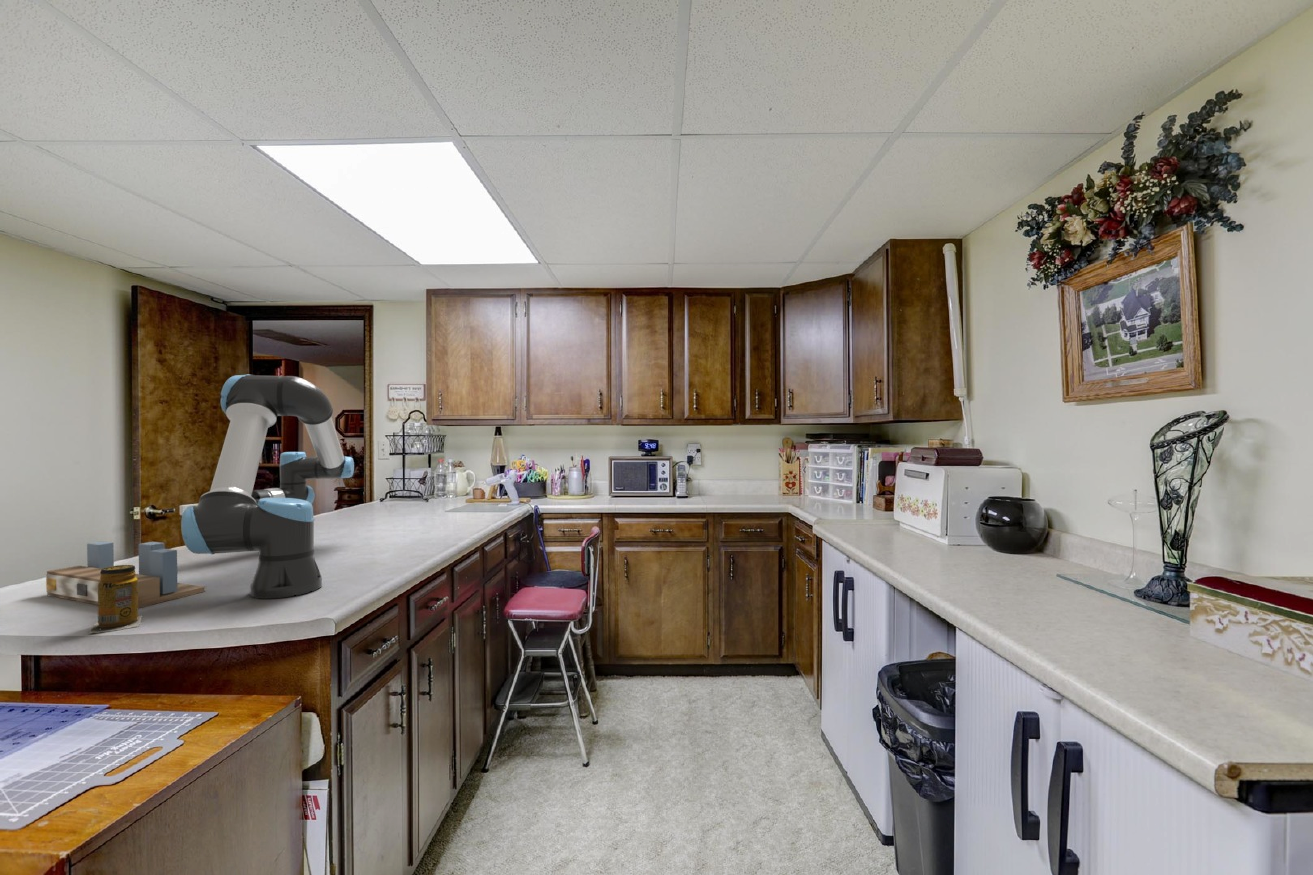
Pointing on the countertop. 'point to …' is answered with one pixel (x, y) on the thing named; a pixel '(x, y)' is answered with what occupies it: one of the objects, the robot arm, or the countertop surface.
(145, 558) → the key middle
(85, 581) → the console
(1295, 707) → the countertop surface
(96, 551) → the key
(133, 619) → the condiment
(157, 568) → the key
